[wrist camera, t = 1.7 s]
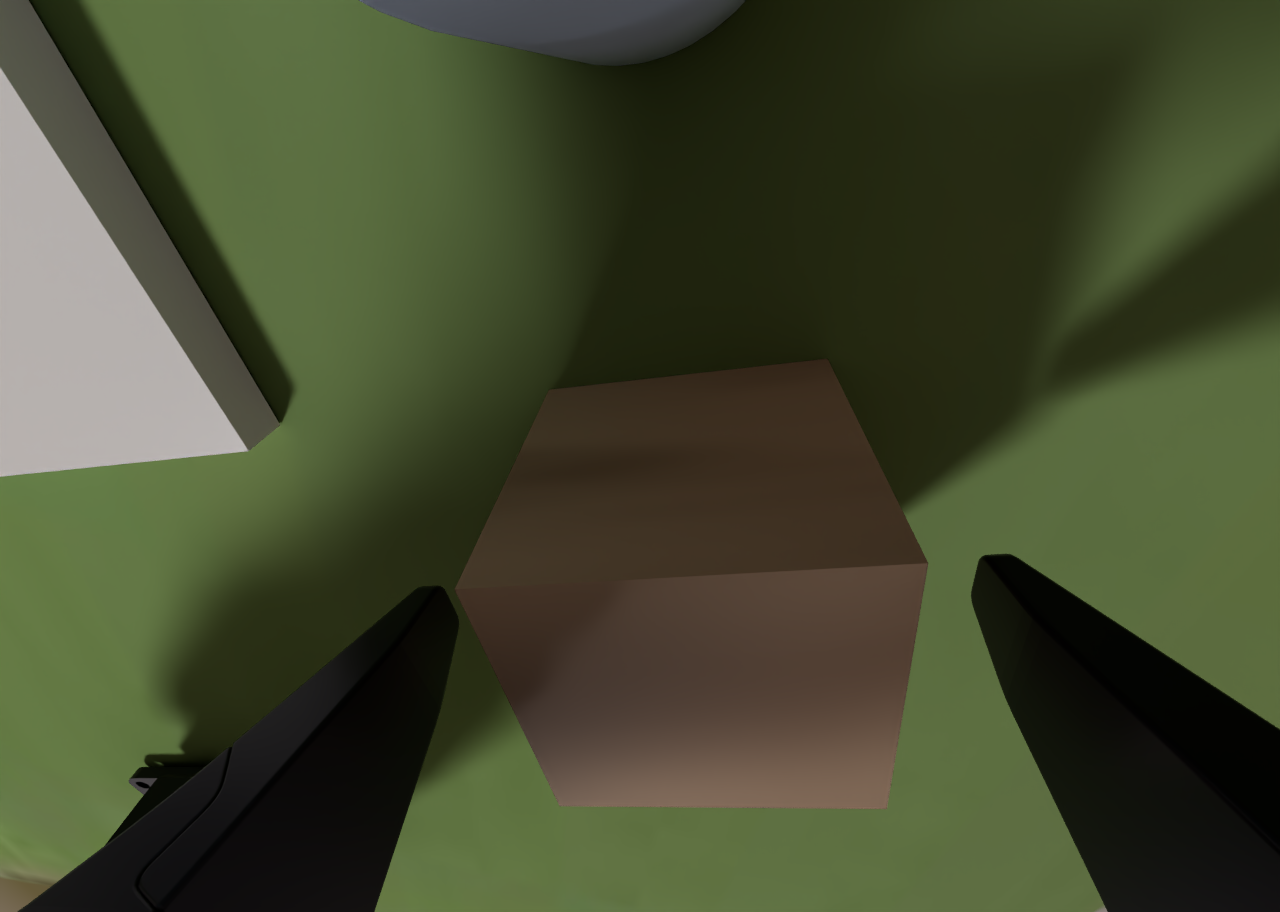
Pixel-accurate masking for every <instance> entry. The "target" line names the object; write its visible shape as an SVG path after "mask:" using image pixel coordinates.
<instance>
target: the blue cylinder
mask: <svg viewBox="0 0 1280 912" xmlns="http://www.w3.org/2000/svg"><path fill="white" fill-rule="evenodd" d="M359 1H361V2H363V3H365V4H367V5H368V6H370V7H372V8H374V9H376V10H378V11H380V12H382V13H385V14H388V15H390V16H393V17H396V18H398V19H401V20H404V21H407V22H409V23H412V24H415V25H418V26H420V27H423V28H426V29H428V30H431V31H435V32H440V33H445V34H449V35H454V36H459V37H464V38H469V39H473V40H478V41H483V42H488V43H492V44H497V45H502V46H507V47H511V48H516V49H521V50H526V51H531V52H535V53H540V54H545V55H550V56H554V57H559V58H564V59H569V60H574V61H578V62H583V63H588V64H593V65H611V66H622V65H630V64H638V63H644V62H648V61H651V60H655V59H659V58H662V57H666V56H668V55H670V54H673V53H675V52H677V51H679V50H681V49H683V48H686V47H688V46H690V45H692V44H693V43H695V42H696V41H698V40H699V39H701V38H702V37H704V36H706V35H707V34H709V33H710V32H712V31H713V30H714V29H716V28H717V27H718V26H719V25H720V24H722V23H723V22H724V21H725V20H726V19H727V18H729V17H730V16H731V15H732V14H733V13H734V12H736V10H737V9H738V8H739V7H740V6H741V5H742V4H743V3H744V2H745V1H746V0H359Z"/></svg>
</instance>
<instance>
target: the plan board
mask: <svg viewBox="0 0 1280 912" xmlns="http://www.w3.org/2000/svg"><path fill="white" fill-rule="evenodd" d="M278 426H280V424H279V422H278V420H277V419H276V417H275V415H274V414H273V412H272V410H271V409H270V407H269V405H268V403H267V402H266V400H265V398H264V397H263V395H262V393H261V392H260V390H259V388H258V387H257V385H256V383H255V382H254V380H253V378H252V376H251V375H250V373H249V371H248V370H247V368H246V366H245V365H244V363H243V361H242V360H241V358H240V356H239V355H238V353H237V351H236V349H235V348H234V346H233V344H232V343H231V341H230V339H229V338H228V336H227V334H226V333H225V331H224V329H223V328H222V326H221V324H220V322H219V321H218V319H217V317H216V316H215V314H214V312H213V311H212V309H211V307H210V306H209V304H208V302H207V301H206V299H205V297H204V295H203V294H202V292H201V290H200V289H199V287H198V285H197V284H196V282H195V280H194V279H193V277H192V275H191V274H190V272H189V270H188V268H187V267H186V265H185V263H184V262H183V260H182V258H181V257H180V255H179V253H178V252H177V250H176V248H175V246H174V245H173V243H172V241H171V240H170V238H169V236H168V235H167V233H166V231H165V230H164V228H163V226H162V225H161V223H160V221H159V219H158V218H157V216H156V214H155V213H154V211H153V209H152V208H151V206H150V204H149V203H148V201H147V199H146V198H145V196H144V194H143V192H142V191H141V189H140V187H139V186H138V184H137V182H136V181H135V179H134V177H133V176H132V174H131V172H130V171H129V169H128V167H127V165H126V164H125V162H124V160H123V159H122V157H121V155H120V154H119V152H118V150H117V149H116V147H115V145H114V144H113V142H112V140H111V138H110V137H109V135H108V133H107V132H106V130H105V128H104V127H103V125H102V123H101V122H100V120H99V118H98V117H97V115H96V113H95V111H94V110H93V108H92V106H91V105H90V103H89V101H88V100H87V98H86V96H85V95H84V93H83V91H82V90H81V88H80V86H79V84H78V83H77V81H76V79H75V78H74V76H73V74H72V73H71V71H70V69H69V68H68V66H67V64H66V63H65V61H64V59H63V57H62V56H61V54H60V52H59V51H58V49H57V47H56V46H55V44H54V42H53V41H52V39H51V37H50V36H49V34H48V32H47V30H46V29H45V27H44V25H43V24H42V22H41V20H40V19H39V17H38V15H37V14H36V12H35V10H34V9H33V7H32V5H31V3H30V2H29V0H0V476H10V475H19V474H29V473H39V472H49V471H58V470H68V469H78V468H88V467H98V466H107V465H117V464H127V463H137V462H146V461H156V460H166V459H176V458H185V457H195V456H205V455H215V454H224V453H234V452H244V451H249V450H250V449H252V448H253V447H254V446H255V445H257V444H258V443H259V442H260V441H261V440H263V439H264V438H265V437H266V436H267V435H269V434H270V433H271V432H272V431H274V430H275V429H276V428H277V427H278Z"/></svg>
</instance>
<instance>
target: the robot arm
mask: <svg viewBox="0 0 1280 912" xmlns="http://www.w3.org/2000/svg"><path fill="white" fill-rule="evenodd" d="M971 599H972V605H973V608H974V611H975V614H976V617H977V619H978V622H979V625H980V628H981V631H982V634H983V637H984V639H985V642H986V645H987V648H988V651H989V654H990V657H991V659H992V662H993V665H994V668H995V671H996V674H997V677H998V679H999V682H1000V685H1001V688H1002V690H1003V693H1004V696H1005V698H1006V701H1007V703H1008V705H1009V707H1010V709H1011V712H1012V714H1013V716H1014V718H1015V720H1016V722H1017V724H1018V726H1019V728H1020V731H1021V733H1022V735H1023V737H1024V739H1025V741H1026V743H1027V745H1028V747H1029V749H1030V751H1031V753H1032V755H1033V758H1034V760H1035V762H1036V764H1037V766H1038V768H1039V770H1040V772H1041V774H1042V776H1043V778H1044V780H1045V782H1046V785H1047V787H1048V789H1049V791H1050V793H1051V795H1052V797H1053V799H1054V801H1055V803H1056V805H1057V807H1058V809H1059V812H1060V814H1061V816H1062V818H1063V820H1064V822H1065V824H1066V826H1067V828H1068V830H1069V832H1070V834H1071V836H1072V839H1073V841H1074V843H1075V845H1076V847H1077V849H1078V851H1079V853H1080V855H1081V857H1082V859H1083V861H1084V863H1085V866H1086V868H1087V870H1088V872H1089V874H1090V876H1091V878H1092V880H1093V882H1094V884H1095V886H1096V888H1097V890H1098V893H1099V895H1100V897H1101V899H1102V901H1103V903H1104V905H1105V907H1106V909H1107V911H1108V912H1280V729H1279V728H1277V727H1275V726H1274V725H1272V724H1271V723H1269V722H1268V721H1266V720H1265V719H1263V718H1262V717H1260V716H1259V715H1257V714H1256V713H1254V712H1253V711H1251V710H1249V709H1248V708H1246V707H1245V706H1243V705H1242V704H1240V703H1239V702H1237V701H1236V700H1234V699H1233V698H1231V697H1230V696H1228V695H1227V694H1225V693H1223V692H1222V691H1220V690H1219V689H1217V688H1216V687H1214V686H1213V685H1211V684H1210V683H1208V682H1207V681H1205V680H1204V679H1202V678H1201V677H1199V676H1198V675H1196V674H1194V673H1193V672H1191V671H1190V670H1188V669H1187V668H1185V667H1184V666H1182V665H1181V664H1179V663H1178V662H1176V661H1175V660H1173V659H1172V658H1170V657H1168V656H1167V655H1165V654H1164V653H1162V652H1161V651H1159V650H1158V649H1156V648H1155V647H1153V646H1152V645H1150V644H1149V643H1147V642H1146V641H1144V640H1142V639H1141V638H1139V637H1138V636H1136V635H1135V634H1133V633H1132V632H1130V631H1129V630H1127V629H1126V628H1124V627H1123V626H1121V625H1120V624H1118V623H1117V622H1115V621H1113V620H1112V619H1110V618H1109V617H1107V616H1106V615H1104V614H1103V613H1101V612H1100V611H1098V610H1097V609H1095V608H1094V607H1092V606H1091V605H1089V604H1087V603H1086V602H1084V601H1083V600H1081V599H1080V598H1078V597H1077V596H1075V595H1074V594H1072V593H1071V592H1069V591H1068V590H1066V589H1065V588H1063V587H1061V586H1060V585H1058V584H1057V583H1055V582H1054V581H1052V580H1051V579H1049V578H1048V577H1046V576H1045V575H1043V574H1042V573H1040V572H1039V571H1037V570H1036V569H1034V568H1032V567H1031V566H1029V565H1028V564H1026V563H1025V562H1023V561H1022V560H1020V559H1019V558H1017V557H1015V556H1013V555H1011V554H994V555H984V556H982V557H981V558H980V559H979V562H978V565H977V570H976V574H975V578H974V582H973V586H972V591H971ZM458 628H459V619H458V615H457V613H456V611H455V609H454V607H453V605H452V603H451V601H450V599H449V597H448V595H447V593H446V591H445V589H444V588H443V587H441V586H422V587H419V588H417V589H416V590H414V591H413V592H412V593H411V594H410V595H408V596H407V597H406V598H405V599H404V600H402V601H401V602H400V603H399V604H398V605H396V606H395V607H394V608H393V609H392V610H391V611H389V612H388V613H387V614H386V615H385V616H383V617H382V618H381V619H380V620H379V621H378V622H376V623H375V624H374V625H373V626H372V627H370V628H369V629H368V630H367V631H366V632H364V633H363V634H362V635H361V636H360V637H359V638H357V639H356V640H355V641H354V642H353V643H351V644H350V645H349V646H348V647H347V648H346V649H344V650H343V651H342V652H341V653H340V654H338V655H337V656H336V657H335V658H334V659H333V660H331V661H330V662H329V663H328V664H327V665H325V666H324V667H323V668H322V669H321V670H319V671H318V672H317V673H316V674H315V675H314V676H312V677H311V678H310V679H309V680H308V681H306V682H305V683H304V684H303V685H302V686H301V687H299V688H298V689H297V690H296V691H295V692H293V693H292V694H291V695H290V696H289V697H287V698H286V699H285V700H284V701H283V702H282V703H280V704H279V705H278V706H277V707H276V708H274V709H273V710H272V711H271V712H270V713H268V714H267V715H266V716H265V717H264V718H263V719H261V720H260V721H259V722H258V723H257V724H255V725H254V726H253V727H252V728H251V729H249V730H248V731H247V732H246V733H245V734H244V735H242V736H241V737H240V738H239V739H238V740H236V741H235V742H234V743H233V747H228V748H227V749H226V750H224V751H223V752H222V753H221V754H220V755H219V756H217V757H216V758H215V759H214V760H213V761H211V762H210V763H209V764H208V765H207V766H205V767H141V768H139V769H137V771H136V772H135V773H134V774H133V776H132V777H131V778H130V779H129V783H130V784H131V785H132V786H133V787H135V788H136V789H137V790H139V791H140V792H141V793H142V794H144V796H143V797H142V798H141V800H140V801H139V802H138V803H137V805H136V806H135V807H134V809H133V810H132V811H131V812H130V814H129V815H128V816H127V818H126V819H125V820H124V821H123V823H122V824H121V825H120V827H119V828H118V829H117V831H116V832H115V833H114V834H113V836H112V837H111V838H110V840H109V841H108V842H107V843H106V845H105V846H104V847H103V848H101V849H100V850H99V851H97V852H96V853H95V854H93V855H92V856H91V857H90V858H88V859H87V860H86V861H84V862H83V863H82V864H80V865H79V866H78V867H76V868H75V869H74V870H72V871H71V872H70V873H68V874H67V875H66V876H64V877H63V878H62V879H61V880H59V881H58V882H57V883H55V884H54V885H53V886H51V887H50V888H49V889H47V890H46V891H45V892H43V893H42V894H41V895H39V896H38V897H37V898H35V899H34V900H33V901H32V902H30V903H29V904H28V905H26V906H25V907H23V908H22V909H21V910H19V911H18V912H374V911H375V908H376V905H377V902H378V899H379V896H380V893H381V890H382V887H383V884H384V881H385V878H386V875H387V872H388V869H389V866H390V862H391V859H392V856H393V853H394V850H395V847H396V844H397V841H398V838H399V835H400V832H401V829H402V826H403V823H404V820H405V817H406V814H407V811H408V808H409V805H410V802H411V799H412V796H413V793H414V789H415V786H416V783H417V780H418V777H419V774H420V771H421V768H422V765H423V762H424V759H425V756H426V753H427V750H428V747H429V744H430V741H431V738H432V735H433V732H434V729H435V726H436V723H437V719H438V716H439V713H440V709H441V705H442V701H443V697H444V693H445V688H446V684H447V679H448V675H449V670H450V666H451V661H452V656H453V652H454V647H455V643H456V638H457V634H458Z"/></svg>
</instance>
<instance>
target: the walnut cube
mask: <svg viewBox="0 0 1280 912" xmlns="http://www.w3.org/2000/svg"><path fill="white" fill-rule="evenodd" d="M927 567H928V562H927V560H926V558H925V556H924V554H923V552H922V550H921V548H920V546H919V544H918V542H917V540H916V538H915V536H914V533H913V531H912V529H911V527H910V525H909V523H908V521H907V519H906V517H905V515H904V513H903V511H902V509H901V507H900V505H899V503H898V501H897V499H896V497H895V495H894V493H893V491H892V489H891V487H890V485H889V483H888V481H887V479H886V477H885V475H884V473H883V471H882V468H881V466H880V464H879V462H878V460H877V458H876V456H875V454H874V452H873V450H872V448H871V446H870V444H869V442H868V440H867V438H866V436H865V434H864V432H863V430H862V428H861V426H860V424H859V422H858V420H857V418H856V416H855V414H854V412H853V410H852V408H851V406H850V404H849V401H848V399H847V397H846V395H845V393H844V391H843V389H842V387H841V385H840V383H839V381H838V379H837V377H836V375H835V373H834V371H833V369H832V367H831V365H830V363H829V361H828V359H820V360H811V361H802V362H793V363H784V364H775V365H766V366H757V367H748V368H739V369H730V370H722V371H713V372H704V373H695V374H686V375H677V376H668V377H659V378H650V379H641V380H632V381H623V382H614V383H605V384H596V385H587V386H578V387H569V388H560V389H551V390H549V391H548V393H547V395H546V397H545V399H544V401H543V403H542V405H541V408H540V410H539V412H538V414H537V416H536V418H535V420H534V422H533V424H532V427H531V429H530V431H529V433H528V435H527V437H526V439H525V441H524V444H523V446H522V448H521V450H520V452H519V454H518V456H517V458H516V460H515V463H514V465H513V467H512V469H511V471H510V473H509V475H508V477H507V480H506V482H505V484H504V486H503V488H502V490H501V492H500V494H499V496H498V499H497V501H496V503H495V505H494V507H493V509H492V511H491V513H490V515H489V518H488V520H487V522H486V524H485V526H484V528H483V530H482V532H481V535H480V537H479V539H478V541H477V543H476V545H475V547H474V549H473V551H472V554H471V556H470V558H469V560H468V562H467V564H466V566H465V568H464V571H463V573H462V575H461V577H460V579H459V581H458V583H457V585H456V587H455V592H456V594H457V596H458V598H459V600H460V602H461V604H462V606H463V608H464V610H465V612H466V614H467V616H468V618H469V620H470V622H471V624H472V626H473V629H474V631H475V633H476V635H477V637H478V639H479V641H480V643H481V645H482V647H483V649H484V651H485V653H486V655H487V657H488V659H489V661H490V664H491V666H492V668H493V670H494V672H495V674H496V676H497V678H498V680H499V682H500V684H501V686H502V688H503V690H504V692H505V694H506V696H507V698H508V701H509V703H510V705H511V707H512V709H513V711H514V713H515V715H516V717H517V719H518V721H519V723H520V725H521V727H522V729H523V731H524V733H525V736H526V738H527V740H528V742H529V744H530V746H531V748H532V750H533V752H534V754H535V756H536V758H537V760H538V762H539V764H540V766H541V768H542V770H543V773H544V775H545V777H546V779H547V781H548V783H549V785H550V787H551V789H552V791H553V793H554V795H555V797H556V799H557V801H558V803H559V805H560V806H607V807H724V808H841V809H887V804H888V798H889V792H890V786H891V780H892V775H893V769H894V763H895V757H896V751H897V745H898V739H899V733H900V727H901V721H902V715H903V709H904V703H905V697H906V692H907V686H908V680H909V674H910V668H911V662H912V656H913V650H914V644H915V638H916V632H917V626H918V620H919V615H920V609H921V603H922V597H923V591H924V585H925V579H926V573H927Z"/></svg>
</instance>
